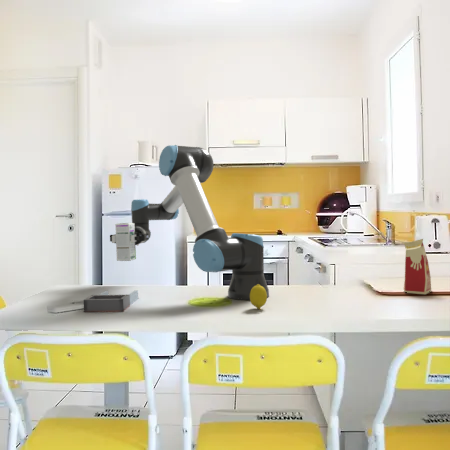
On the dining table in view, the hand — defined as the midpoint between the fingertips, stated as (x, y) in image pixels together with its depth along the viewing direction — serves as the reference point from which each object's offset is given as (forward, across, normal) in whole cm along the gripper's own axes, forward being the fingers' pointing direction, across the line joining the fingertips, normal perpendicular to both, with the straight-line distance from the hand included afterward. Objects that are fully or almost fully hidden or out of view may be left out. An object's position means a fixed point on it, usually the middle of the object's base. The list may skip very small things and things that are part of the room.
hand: (122, 239), depth 186 cm
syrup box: (-5, 0, -9) cm, 10 cm away
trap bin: (+23, 0, -22) cm, 32 cm away
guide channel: (+11, 0, -22) cm, 25 cm away
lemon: (+26, -50, -22) cm, 61 cm away
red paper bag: (-2, -110, -22) cm, 112 cm away
